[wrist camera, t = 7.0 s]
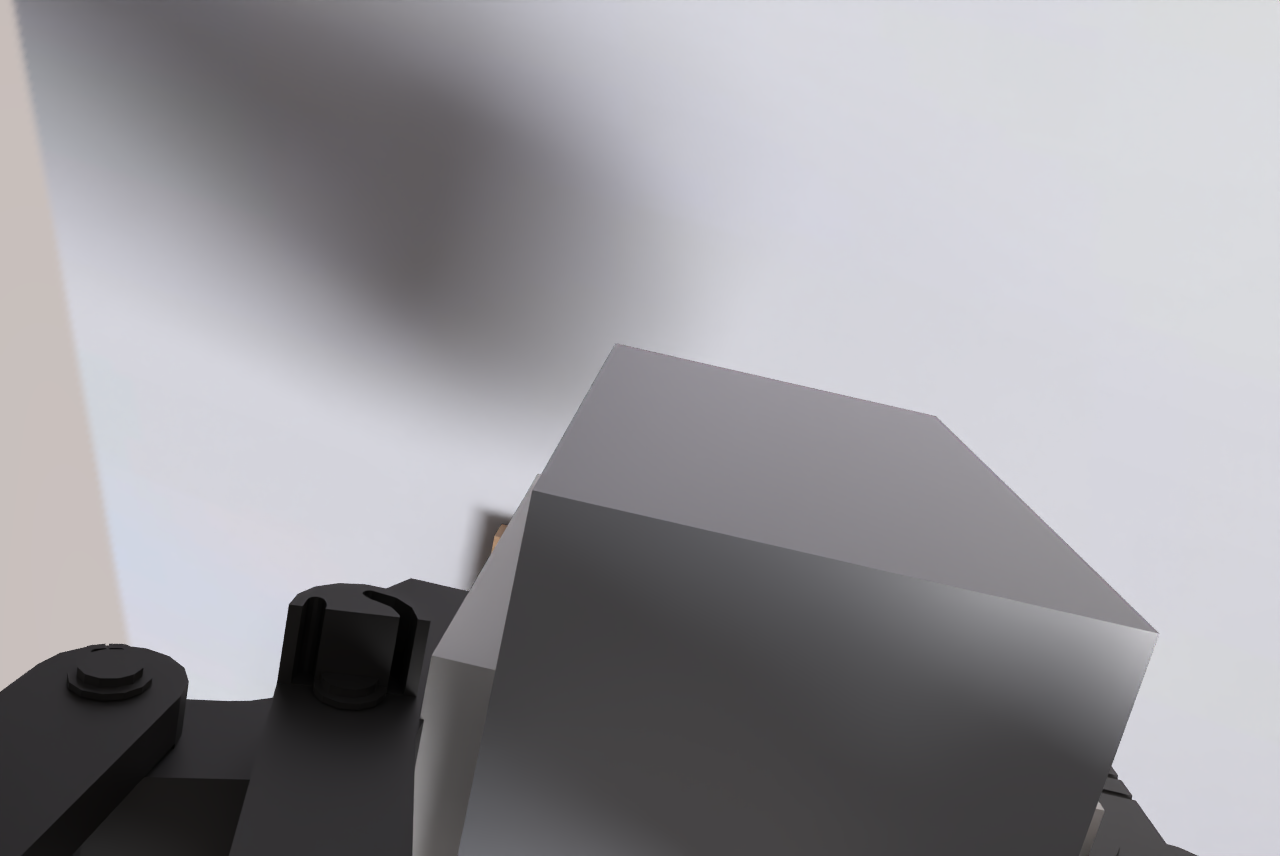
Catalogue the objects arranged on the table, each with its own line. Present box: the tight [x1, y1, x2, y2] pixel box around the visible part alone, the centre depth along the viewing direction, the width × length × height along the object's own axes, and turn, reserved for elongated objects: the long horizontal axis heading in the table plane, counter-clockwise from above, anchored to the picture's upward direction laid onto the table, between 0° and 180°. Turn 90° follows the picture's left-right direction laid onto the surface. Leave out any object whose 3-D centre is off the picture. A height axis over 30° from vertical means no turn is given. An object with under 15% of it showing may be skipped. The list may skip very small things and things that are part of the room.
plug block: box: [458, 344, 1159, 856], centre depth 13 cm, size 5×7×8 cm
